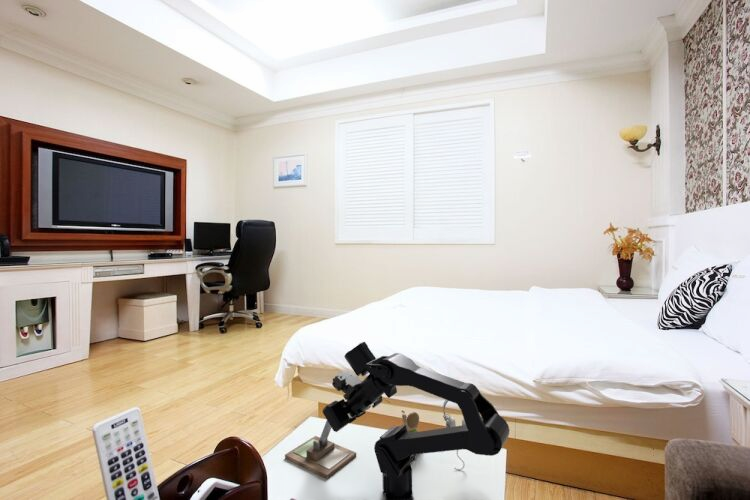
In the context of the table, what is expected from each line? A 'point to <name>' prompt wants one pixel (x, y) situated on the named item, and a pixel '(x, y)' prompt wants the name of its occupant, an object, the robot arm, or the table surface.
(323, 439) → the toggle lever
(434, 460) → the table surface
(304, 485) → the table surface
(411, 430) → the snail figurine
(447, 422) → the headphones
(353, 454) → the switch base
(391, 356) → the robot arm
